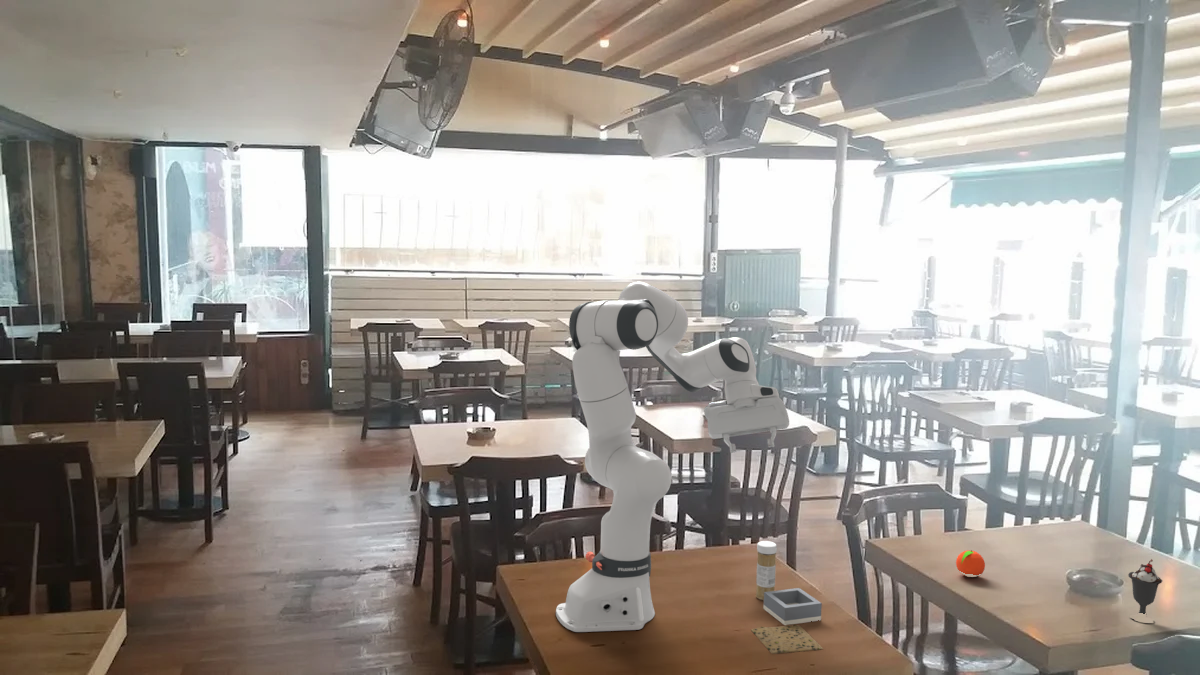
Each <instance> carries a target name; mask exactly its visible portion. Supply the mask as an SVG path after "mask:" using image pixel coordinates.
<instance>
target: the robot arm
mask: <svg viewBox="0 0 1200 675" xmlns="http://www.w3.org/2000/svg"><path fill="white" fill-rule="evenodd" d="M568 323H569V324H568V328H569V336H570V338H571V342H572V345H573V347H574V348H575V350H576V351H575V352H574V354H573V355H572V361H571V364H572V372H573V378H574V384H575V390H576V392H577V397H578V399H579V402H580V403H579V404H580V407H581V409H582V414H583V416H584V419H585V423H586V425H587V431H588V440H589V441H588V442H589V443H588V444H589V446H588V447H589V448H588V449H587V450H586V453H585V457H584V466H585V469H586V471H587V473H588V475H590V477H592V479H593V480H594V481H595V482H597V483H598V484H599V485H601V486H603V487H606V488H607V489H610V490H611V491H612V493H613V498H612V504H611V506H610V509H609V510H608V511H607V512H606V513H605V514H604V515H603V516H602V518H601V521H600V550H599V551H598V553H597V554H596V555H595V554H594V552H593V551H587V552H586V554H585V559H586V560H587V561H588V562H589V563H591V567H592V568H590V569H589V570H588V571H586V572H585V573H584V574H583V575H582V576H580V577H578V579H576V580H575V581H574V582H572V584H570V585H569V588H568V590H567V594H566V599H565V602H562V603H559V604H558V605H557V606H556V609H555V616H556V618H557V620H558V622H559V623H560V624H561V625H562V626H563V627H565V628H566V629H567V630H570V631H572V632H574V633H588V632H591V633H592V632H611V631H612V632H614V631H616V632H617V631H636V630H641V629H643V628H644V626H645V624H647V623H648V622H650V621H652V619H653V618H655V615H656V612H655V611H656V610H655V609H654V604H653V601H652V593H651V584H650V577H651V573H652V572H651V570H652V554H651V552H650V539H651V538H650V535H651V523H652V517H653V514H654V510H655V508H656V506H657V504H658V502H659V500H660V501H661V499H662V498H664V496H665V495H667V493H668V491H669V490H670V487H671V484H672V471H671V468H670V466H669V465H668V463H666V462H665V460H663V459H662V458H660V456H658V455H657V454H655V453H653V452H651V451H649V450H647V449H643V448H640V447H639V446H638V447H637V445H636V444H635V443H634V441H633V437H632V426H633V425H634V424H635V422H636V419H637V418H636V417H637V413H636V409H635V406H634V403H633V399H632V396H631V395H632V394H631V393H630V390H629V385H628V382H627V379H626V376H625V373H624V371H623V367H622V366H621V363H620V357H621V356H620V354H621V351H624V350H626V351H627V350H641V349H643V348H646V350H647V351H648V352H649V354H651V356H652V357H653V358H654V359H655V360H656V361H657V362H658V363H659V364H660V365H661V366H662V367H663V368H664V369H665V370H666V371H667V372H668V373H669V374H671V376H672V378H674V380H675V381H676V383H677V384H678V386H679V387H681V389H683V390H684V391H687V392H690V393H697V392H698V391H700V390H703V389H704V388H706V387H709V385H712V384H715V383H717V382H720V381H724V393H725V399H726V400H723V401H717V402H711V403H709V404H708V405H706V406H705V407H704V410H703V414H704V418H705V419H706V420H707V431H708V436H709V438H711V439H712V440H715V439H716V440H717V439H723V442H724V443H725V444H726V446H728V447H729V452H730V454H732V453H737V448H736V444H735V443H731V441H730V437H737V436H738V437H739V436H744V435H750V434H751V435H752V434H757V433H764V432H765V433H766V432H770V435H771V436H770V438H767V439H766V440H767V446H768V448H775V442H774V441H775V438H776V436H777V431H778V430H779V431H780V430H786V429H788V427H789V426H790V419H789V414H788V410H787V408H786V405H785V403H784V401H783V399H781V398H780V394H779V391H778V389H777V388H776V387H773V386H764V385H760V383H759V381H758V378H757V367H756V362H755V359H754V355H753V352H752V349H751V347H750V345H749V342H748V341H747V340H746V339H744V338H742V337H739V336H737V337H736V336H735V337H729V338H726V337H723V338H720V339H717V340H715V341H713V342H709V343H708V344H706V345H704V346H701V347H699V348H696V349H694V350H692V351H689V352H685V353H683V352H682V353H680V351H678V349H676V346H677V345H678V344H680V342H681V341H682V340H683V339H684V337H685V335H686V334H687V330H688V325H689V316H688V312H687V310H686V309H685V307H684V306H683V305H682V303H680V302H679V301H678V300H677V299H675V298H674V297H673V296H671V295H669V293H667V292H665V291H663V290H662V289H660V288H658V287H656V286H654V285H652V284H649V283H647V282H645V281H633V282H632V283H631V282H630V283H629V284H628V285H626V286H625V287H624V288H623V289H622V291H621V292H620V294H619V295H618V300H616V299H605V300H599V301H587V302H584V303H581V304H578V305H577V306H576V307H575V308H574V309H573V310H572V311H571V314H570V317H569V322H568Z"/></svg>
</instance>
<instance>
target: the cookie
mask: <svg viewBox="0 0 1200 675" xmlns="http://www.w3.org/2000/svg"><path fill="white" fill-rule="evenodd" d="M750 631H751V632H752V633H753V635H755V637H756V638H757V639H758V640H759V642H761V644H763V645H764V647H765V648H766V649H767V650H768V651H769V653H771V654H772V655H776V654H777V655H778V654H787V653H788V654H791V652H792V653H799V651H800V652H810V651H809V650H814V651H821V650H820V649H824V648H823V647H822V645H821V644H820V643H818V641H816V640H815V639H814V638H813V637H812V636H811V635H810V634H809V633H808V632H807V631H806V630H805V629H804V628H803V627H802V626H801V625H797V624H792V625H784V626H771V627H770V626H767V627H766V626H760V627H756V628H755V627H753V628H751V629H750ZM789 652H790V653H789Z"/></svg>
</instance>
